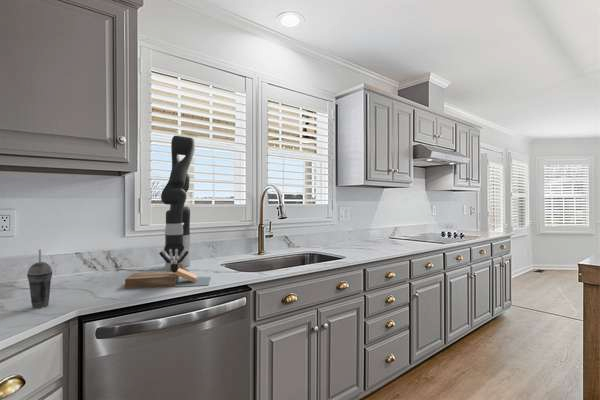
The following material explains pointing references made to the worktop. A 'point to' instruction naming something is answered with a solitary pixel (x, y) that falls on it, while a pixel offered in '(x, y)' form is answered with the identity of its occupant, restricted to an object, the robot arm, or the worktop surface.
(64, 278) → the worktop surface
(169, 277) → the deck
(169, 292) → the worktop surface
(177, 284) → the mat
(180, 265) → the ceramic mug
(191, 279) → the orange tan rectangular block
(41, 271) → the beverage cup
